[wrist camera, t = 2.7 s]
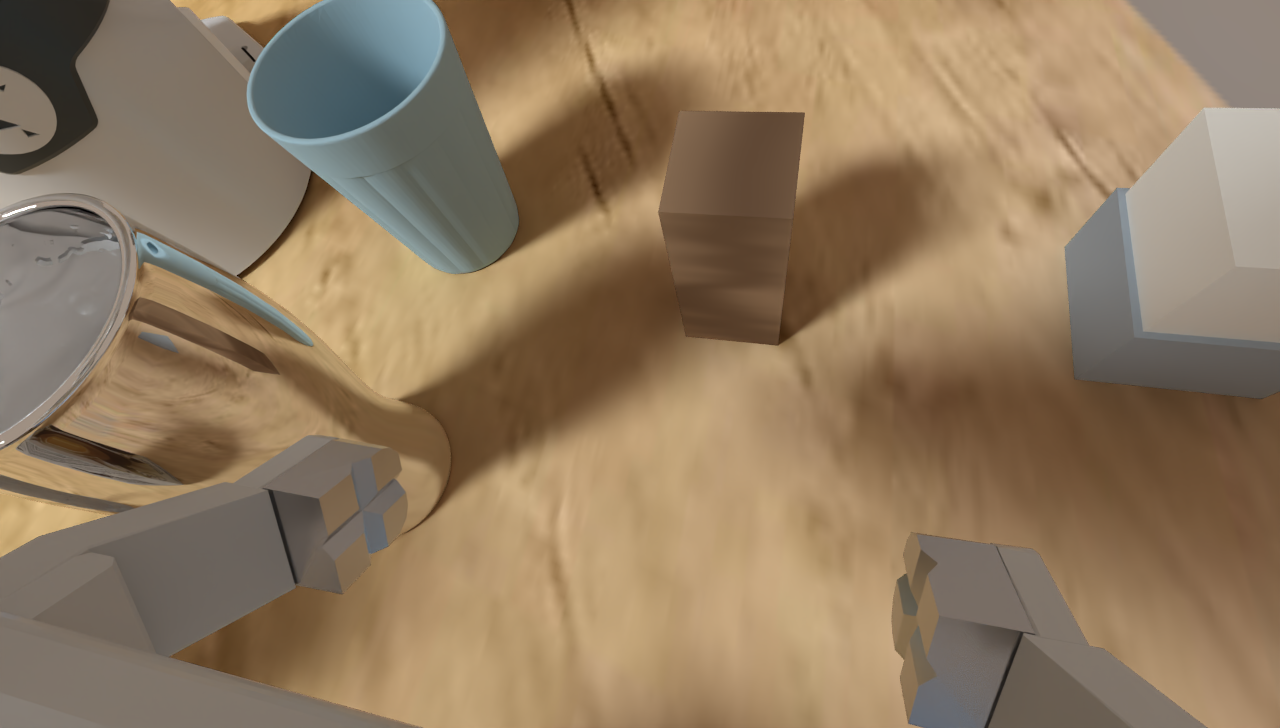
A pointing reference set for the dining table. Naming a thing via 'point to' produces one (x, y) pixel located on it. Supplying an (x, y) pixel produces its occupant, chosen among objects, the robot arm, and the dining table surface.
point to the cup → (389, 125)
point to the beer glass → (165, 370)
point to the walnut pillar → (731, 220)
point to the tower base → (1115, 332)
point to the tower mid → (1211, 229)
